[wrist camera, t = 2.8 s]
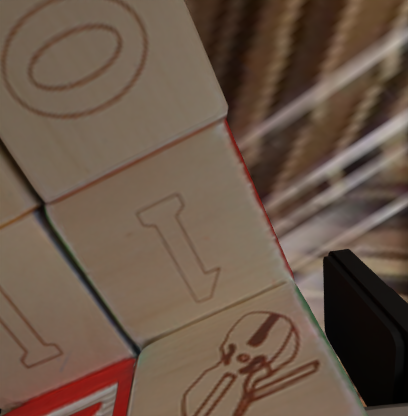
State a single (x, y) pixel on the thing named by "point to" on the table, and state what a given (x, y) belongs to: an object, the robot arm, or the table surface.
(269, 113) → the table surface
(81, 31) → the stack of blocks
